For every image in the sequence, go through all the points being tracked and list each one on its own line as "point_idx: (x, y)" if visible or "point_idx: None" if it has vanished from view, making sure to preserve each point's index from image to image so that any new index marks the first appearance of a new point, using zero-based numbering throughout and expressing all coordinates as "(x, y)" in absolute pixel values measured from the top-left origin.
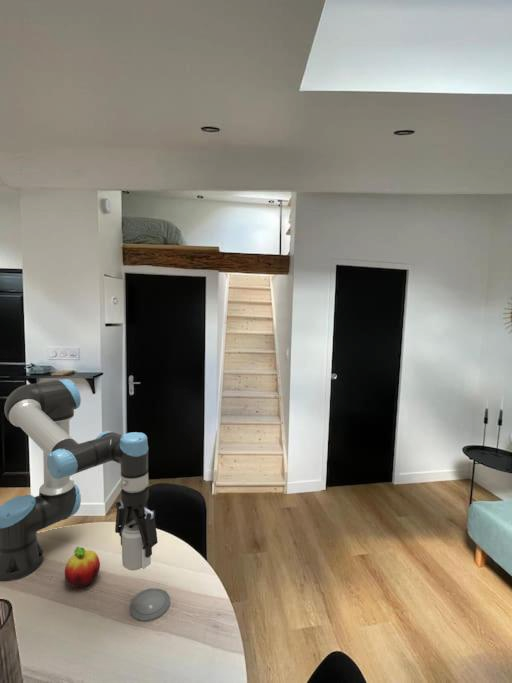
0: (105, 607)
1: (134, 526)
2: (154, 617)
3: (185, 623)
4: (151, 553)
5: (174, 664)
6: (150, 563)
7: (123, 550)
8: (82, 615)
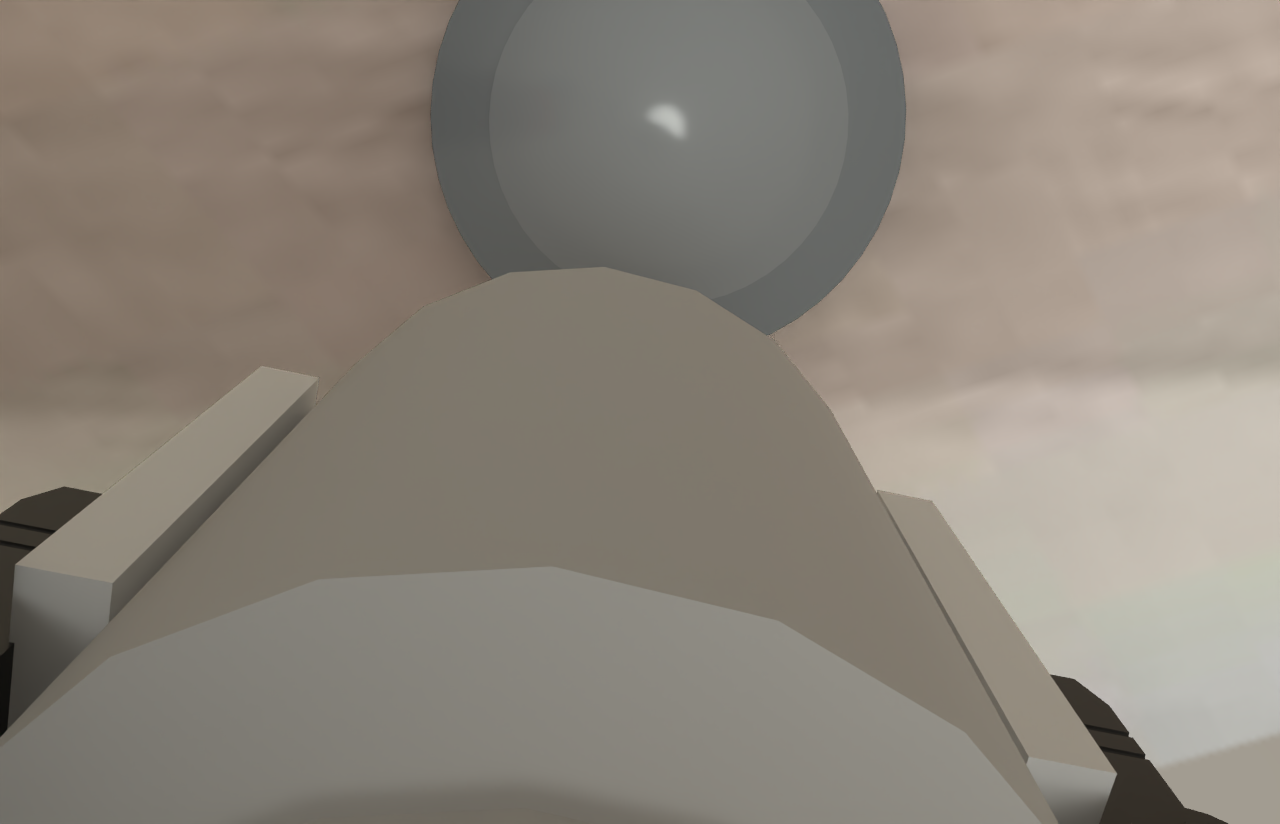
0: (203, 316)
1: (110, 637)
2: (827, 292)
3: (1175, 223)
4: (1111, 732)
5: (1236, 640)
6: (930, 510)
7: None
8: (59, 479)
